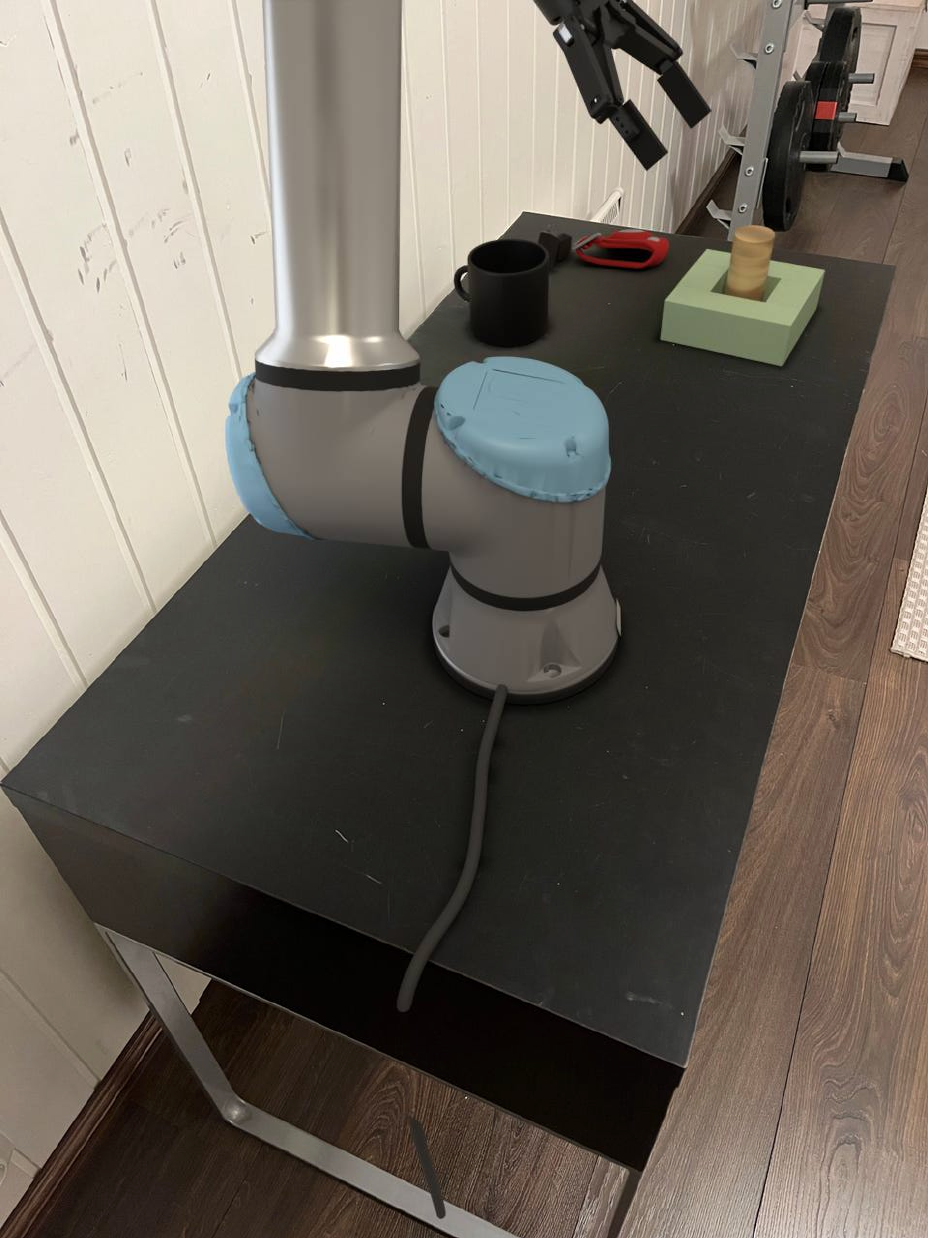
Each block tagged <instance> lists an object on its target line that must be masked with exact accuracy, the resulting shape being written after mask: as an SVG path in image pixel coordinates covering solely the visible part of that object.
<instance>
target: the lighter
mask: <svg viewBox="0 0 928 1238" xmlns="http://www.w3.org/2000/svg"><path fill="white" fill-rule="evenodd" d="M557 226H558V225H556V224H555V223H552V224H551V223H548V224H547V226H546V231H545V230H541V231H540V232H539V236H538V240H537V243H538V244H540V245H542V246H543V247H544V248H546V250H547V251H548V254H549V270H552V271H553V270H554V269H553V268H554V266H555V265H554V264H555V260H560V261H561V260H564V259H565V258H567V257H568V256H569V255H570V254H571V253H572V245H573V244H572V243H573V236H572V235H570V234H567V233H565V232H561V233H560V234H558V235H557V233H556V230H557Z"/></svg>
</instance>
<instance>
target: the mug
mask: <svg viewBox="0 0 928 1238" xmlns="http://www.w3.org/2000/svg"><path fill="white" fill-rule="evenodd" d="M466 262H467V264H465V265H462V266H460V267H458V268H457V269H456V271H455V273H454V274H453V286H454V289H455V291H456V293H457V294H458V296H459V297H460V298H461V299H463V301H465V302H468V303H469V324H470V325H469V326H470V330H471V333H472V334H473V337H475V338H476V339H478V340H479V341H481V342H483V343H485V344H488V345H491V346H495V347H518V346H524V345H528V344H530V343H533V342H535V341H537V340H539V339H540V338H542V337H543V335H545V333H546V331H547V329H548V328H549V298H550V297H549V293H550V292H549V291H550V288H549V287H550V269H549V254H548V251H547V250H546V248H544V247H543V246H542V245H540V244H538V242H535V241H532V240H530V239H529V240H528V239H523V238H500V239H493V240H489V241H486V242H483V243H481V244H478V245H477V246H475V247H474V248H471V250H470V251H469V253H468V255H467V257H466ZM464 274H467V282H468V283H467V285H468V292H467V291H466V290H465V289H464V287H463V284H462V277H463V275H464Z"/></svg>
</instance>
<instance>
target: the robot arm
mask: <svg viewBox="0 0 928 1238" xmlns="http://www.w3.org/2000/svg"><path fill="white" fill-rule="evenodd" d="M532 1H533V3H534V4H535V6H536V7H537V9H538V10H539V11H540V13H541V14H542V15H543V17H544V18H545V20H546V21H547V22H548V23H549V25H550V26H552V27H556V26H557V27H556V28H555V29H554V30H553V32H552V37H553V38H554V40H555V41H556V43H557V45H558V46H559V48H560V49H561V51H562V53H563V55H564V58H565V59H566V62H567V65H568V68H569V70H570V72H571V74H572V76H573V79H574V81H575V84H576V87H577V89H578V91H579V94H580V96H581V98H582V100H583V103H584V106H585V108H586V111H587V113H588V115H589V116H590V118H591V119H593V120H595V122H596V123H597V124H599V125H603V124H604V123H605V122H606V121H607V120H609V122H610V123H611V125H612V126H613V128H614V129H615V130H616V131H617V133H618V134H619V136H620V137H621V138H622V140H623V141H624V142H625V144H626V145H627V147H628V148H629V149H630V151H631V152H632V153H633V155H634V156H635V158H636V159H637V160H638V162H639V163H640V164H641V166H642V167H643V169H644V170H645V171H646V172H648V171H649V170H650V169H651V168H652V167H654V166H655V165H656V164H657V163H658V162H660V161H661V160H662V159H663V158H664V157H665V156H667V155H668V153H669V151H668V149H667V148H666V147H665V145H664V144H663V142H662V141H661V140H660V138H659V137H658V136H657V134H656V132H655V131H654V130H653V128H652V127H651V126H650V124H649V123H648V121H647V120H646V118H645V117H644V115H642V113H641V112H640V110H639V109H638V107H637V105H636V104H635V103H634V102H633V101H632V99H631V98H628V99H627V100H626V101H625V97H624V94H623V90H622V85H621V81H620V77H619V74H618V70H617V66H616V62H615V58H614V55H613V51H616V50H621V51H622V52H624V53H626V54H627V55H628V56H630V57H632V58H633V59H635V60H636V61H637V62H639V63H640V64H642V65H643V66H645V67H647V68H648V69H649V70H651V71H652V72H654V73H655V74H656V75H658V76H659V77H658V78H657V79H656V81H657V83H658V84H659V86H660V87H661V89H662V90H663V91H664V93H665V94H666V96H667V97H668V98H669V100H670V101H671V103H672V104H673V106H674V107H675V108H676V110H677V111H678V113H679V114H680V116H681V117H682V118H683V120H684V121H685V123H686V124H687V125H688V127H689V129H690V130H692V129H693V128H694V127H696V126H697V125H698V124H699V123H700V122H702V121H703V120H704V119H705V118H706V117H707V116H708V115H709V114H711V112H713V110H712V108H711V107H710V106H709V104H708V103H707V101H706V100H705V98H704V97H703V95H702V94H701V93H700V91H699V90H698V88H697V87H696V86H695V84H694V83H693V81H692V80H691V78H690V77H689V75H688V74H687V72H686V71H685V70H684V68H683V67H682V65H681V64H680V63H679V61H678V60H679V59H680V58H681V57H682V56H683V55H684V51H683V48H682V47H681V46H680V44H679V43H678V42H677V41H676V39H674V38H673V37H672V36H671V35H670V34H669V33H668V32H667V31H666V30H664V29H663V27H662V26H660V25H659V24H658V23H657V22H656V21H655V20H654V19H653V18H652V17H651V16H650V15H648V14H647V13H646V11H644V10H643V9H642V8H641V6H639V5H638V4H637V3H636V2H635V1H634V0H532ZM261 2H262V3H261V6H262V7H261V9H262V30H263V57H264V79H265V80H264V82H265V106H266V107H265V108H266V127H267V129H266V131H267V151H268V153H267V154H268V156H267V157H268V176H269V177H268V178H269V179H268V180H269V203H270V204H269V205H270V228H271V230H270V231H271V252H272V253H271V255H272V274H273V275H272V277H273V300H274V301H273V302H274V303H273V304H274V324H275V326H274V329H273V330H272V333H271V334H270V335H269V336H268V337H267V338H266V339H265V340H264V342H263V343H262V344H260V345H259V347H258V348H257V349H256V350H255V351H254V372H251V373H250V374H247V375H246V376H244V377H242V378H241V379H240V380H239V381H238V382H237V384H236V385H235V386H234V389H233V390H232V392H231V394H230V398H229V401H228V408H229V411H230V412H229V413H230V415H228V416H227V417H226V418H225V430H224V431H225V432H224V433H225V449H226V450H225V451H226V457H227V463H228V469H229V472H230V476H231V480H232V484H233V486H234V489H235V490H236V494H237V496H238V498H239V500H240V502H241V504H242V506H243V507H244V508H245V510H246V512H247V513H248V514H250V515H251V516H252V518H253V519H254V520H255V521H256V522H257V523H258V524H259V525H261V526H262V527H263V528H266V529H268V530H270V531H272V532H276V533H280V534H281V533H283V534H287V535H294V536H300V537H303V538H305V539H307V540H311V541H318V542H319V541H320V542H322V541H325V540H330V541H339V542H340V541H341V542H348V543H349V542H350V543H351V542H352V543H359V544H370V545H379V546H390V547H400V548H408V549H409V548H411V549H422V550H431V551H441V552H448V554H449V568H448V571H447V574H446V577H445V580H444V582H443V585H442V587H441V591H440V594H439V596H438V599H437V602H436V604H435V607H434V610H433V615H432V632H433V642H434V648H435V652H436V656H437V658H438V660H439V662H440V664H441V666H442V667H443V669H444V671H446V673H447V674H448V675H449V676H450V677H451V678H452V679H453V680H454V681H455V682H456V683H458V684H459V685H460V686H462V687H463V688H465V689H466V690H468V691H469V692H471V693H473V694H476V695H477V696H480V697H483V698H485V699H488V700H491V701H492V703H491V706H490V710H489V714H488V717H487V719H486V723H485V728H484V731H483V734H482V738H481V741H480V745H479V749H478V755H477V761H476V767H475V768H476V769H475V778H474V779H475V780H474V797H473V806H472V813H471V814H472V815H471V821H470V828H469V829H470V830H469V838H468V845H467V851H466V857H465V861H464V865H463V868H462V871H461V874H460V878H459V880H458V882H457V885H456V887H455V889H454V891H453V893H452V895H451V896H450V898H449V900H448V902H447V904H446V905H445V906H444V908H443V910H441V911H442V912H440V914H439V915H438V917H437V918H436V920H435V922H433V924H432V926H431V927H430V928H429V930H428V931H427V933H426V934H425V935H424V937H423V938H422V940H421V942H420V943H419V945H418V947H417V948H416V950H415V951H414V954H413V956H412V958H411V960H410V962H409V963H408V967H407V969H406V970H405V973H404V977H403V979H402V982H401V984H400V988H399V992H398V996H397V1000H396V1008H397V1010H398V1011H399V1012H400V1013H401V1012H402V1013H405V1012H407V1011H409V1010H410V1008H411V1006H412V1004H413V999H414V996H415V992H416V990H417V986H418V984H419V981H420V978H421V976H422V973H423V971H424V969H425V967H426V964H428V961H429V959H430V957H431V955H432V954H433V952H434V951H435V949H436V947H437V946H438V944H439V943H440V941H441V940H442V938H443V937H444V936H445V934H446V932H447V931H448V929H450V926H451V925H452V924H453V922H454V920H455V919H456V918H457V916H458V914H459V913H460V911H461V909H462V908H463V905H464V904H465V902H466V900H467V899H468V896H469V894H470V892H471V889H472V886H473V884H474V881H475V878H476V875H477V872H478V869H479V863H480V859H481V853H482V846H483V837H484V827H485V819H486V812H487V801H488V800H487V799H488V784H489V783H488V781H489V769H490V762H491V756H492V751H493V747H494V743H495V740H496V736H497V732H498V729H499V726H500V722H501V718H502V715H503V711H504V707H505V704H510V705H525V706H526V705H529V706H530V705H541V704H549V703H552V702H557V701H560V700H564V699H567V698H570V697H572V696H575V695H576V694H578V693H580V692H582V691H584V690H586V689H587V688H589V687H590V686H591V685H593V684H594V683H595V682H597V681H598V680H599V679H600V678H601V677H603V675H604V674H605V672H606V671H607V670H608V668H609V667H610V665H611V664H612V662H613V660H614V658H615V656H616V652H617V648H618V643H619V642H618V641H619V636H620V637H621V636H622V632H621V631H622V627H621V623H622V622H621V621H622V620H621V619H622V618H621V605H620V603H619V601H618V599H616V602H615V599H614V598H613V595H612V592H611V589H610V586H609V583H608V580H607V578H606V574H605V572H604V570H603V567H602V555H603V554H602V552H603V550H602V549H603V538H604V522H605V521H604V520H605V506H606V490H607V484H608V483H609V482H608V481H609V479H610V475H611V471H612V460H611V455H610V449H609V448H610V426H609V418H608V415H607V412H606V409H605V407H604V405H603V402H602V401H601V399H600V398H599V397H598V395H597V394H596V393H595V392H594V390H592V389H591V388H590V387H588V386H586V385H585V383H584V382H583V381H582V380H581V379H580V378H578V377H577V376H575V375H574V374H573V373H571V372H569V371H567V370H566V369H563V368H561V367H559V366H556V365H553V364H551V363H548V362H545V361H541V360H538V359H537V360H536V359H532V358H527V357H519V356H491V357H486V358H484V359H483V361H482V363H480V362H476V361H474V360H472V361H469V362H466V363H464V364H462V365H460V366H457V367H456V368H455V369H453V370H451V372H449V373H448V374H447V375H446V377H444V379H442V381H441V383H440V385H439V386H430V385H425V384H424V385H423V384H422V383H421V356H420V353H418V352H417V350H415V349H414V347H413V346H412V345H411V344H410V343H409V342H408V341H407V339H406V338H405V337H404V336H403V334H402V332H401V330H400V285H401V284H400V281H401V280H400V279H401V278H400V277H401V274H400V273H401V272H400V271H401V173H402V172H401V171H402V169H401V168H402V167H401V166H402V165H401V160H402V158H401V157H402V64H403V63H402V61H403V60H402V59H403V58H402V57H403V55H402V54H403V51H402V49H403V48H402V47H403V45H402V44H403V43H402V42H403V41H402V40H403V34H402V33H403V0H261ZM406 1115H407V1119H408V1125H409V1128H410V1129H409V1130H410V1134H411V1137H412V1141H413V1144H414V1147H415V1151H416V1154H417V1157H418V1161H419V1163H420V1166H421V1169H422V1173H423V1176H424V1178H425V1181H426V1184H427V1187H428V1191H429V1194H430V1197H431V1201H432V1204H433V1207H434V1213H435V1215H436V1217H437V1218H438V1219H439V1220H442V1219H444V1218H445V1217H446V1215H447V1210H446V1207H445V1202H444V1197H443V1193H442V1190H441V1186H440V1183H439V1179H438V1176H437V1173H436V1169H435V1166H434V1163H433V1159H432V1156H431V1153H430V1149H429V1146H428V1142H427V1137H426V1134H425V1130H424V1125H423V1123H422V1122H420V1121H418V1120H417V1119H415V1118H414V1117H412V1116H411V1115H409V1114H406Z"/></svg>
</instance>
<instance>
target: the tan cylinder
mask: <svg viewBox="0 0 928 1238" xmlns="http://www.w3.org/2000/svg"><path fill="white" fill-rule="evenodd" d="M774 231H775V230H773V229H772V228H770V227H766V226H763V225H755V224H754V225H753V224H751V225H744V226H740V227H738V228H736V230H734V232H733V238H732V246H731V251H730V253H731V257H730V263H729V270H728V276H727V282H726V289H725V295H729V296H734V297H739V298H744V299H749V300H754V301H759V302H763V297H764V291H765V286H766V281H767V276H768V270H769V265H770V260H772V259H771V258H772V253H773V249H774V244H775V239H776V233H775V232H774Z"/></svg>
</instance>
